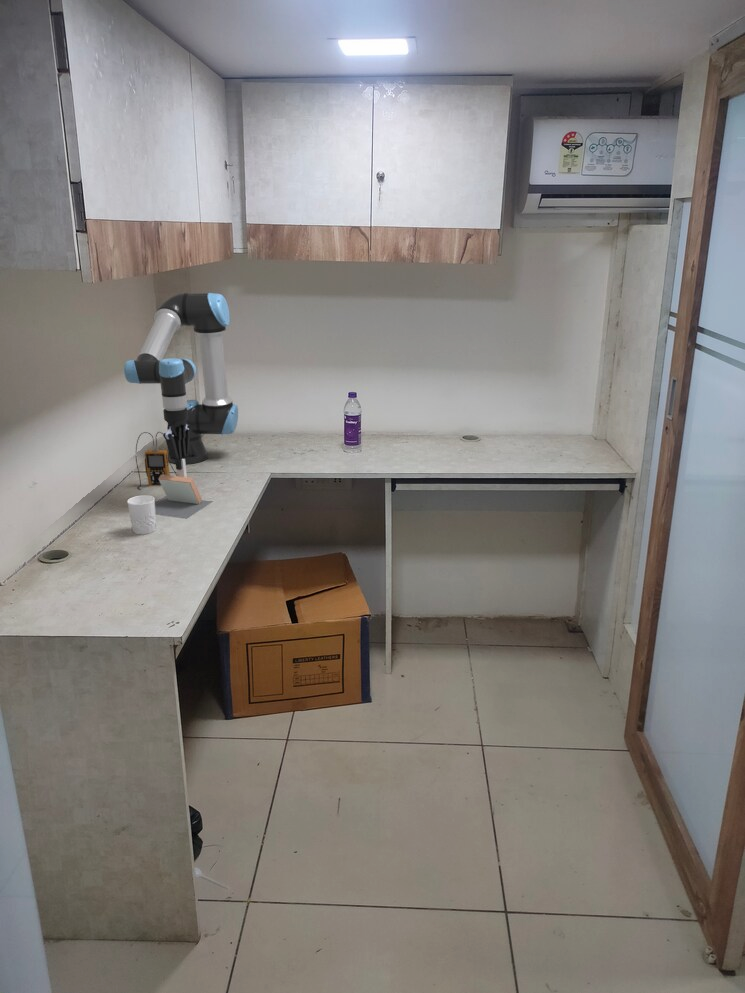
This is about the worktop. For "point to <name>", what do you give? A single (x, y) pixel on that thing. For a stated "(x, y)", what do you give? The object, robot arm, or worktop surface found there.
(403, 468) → the worktop surface
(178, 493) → the tile
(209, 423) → the robot arm
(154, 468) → the multimeter
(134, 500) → the white cup
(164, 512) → the mat
